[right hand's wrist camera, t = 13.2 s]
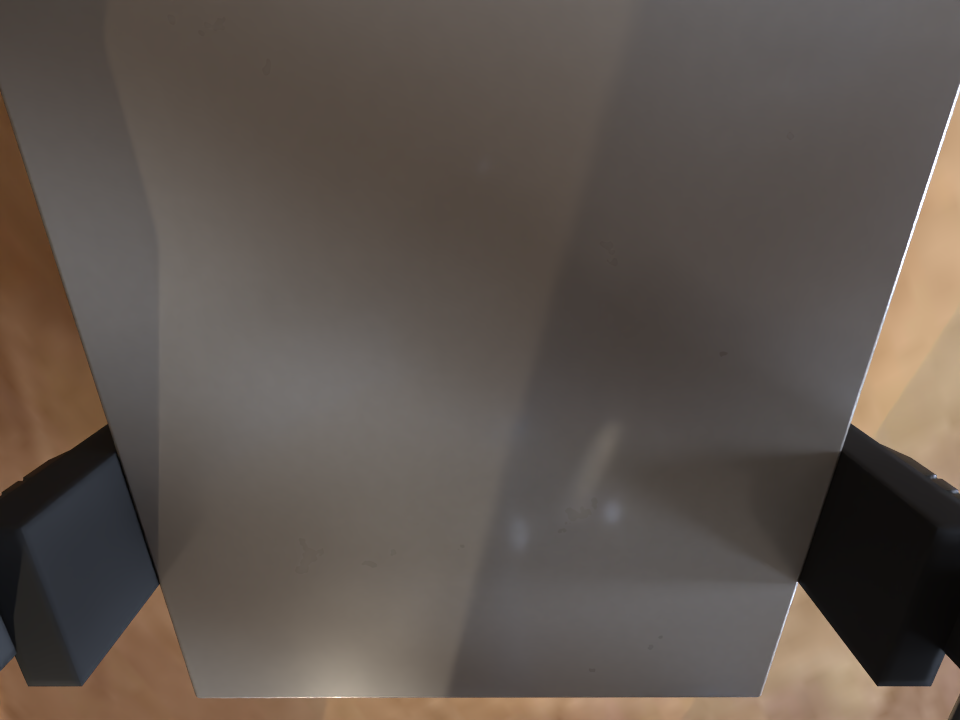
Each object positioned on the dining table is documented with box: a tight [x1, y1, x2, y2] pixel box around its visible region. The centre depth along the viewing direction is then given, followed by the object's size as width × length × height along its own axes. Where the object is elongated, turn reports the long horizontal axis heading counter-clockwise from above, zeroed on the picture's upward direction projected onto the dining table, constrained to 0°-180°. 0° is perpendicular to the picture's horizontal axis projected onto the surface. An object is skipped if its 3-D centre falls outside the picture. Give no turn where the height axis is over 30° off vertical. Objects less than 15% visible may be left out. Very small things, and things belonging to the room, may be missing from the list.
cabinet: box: [0, 0, 960, 698], centre depth 10 cm, size 21×11×9 cm, turn 0°
